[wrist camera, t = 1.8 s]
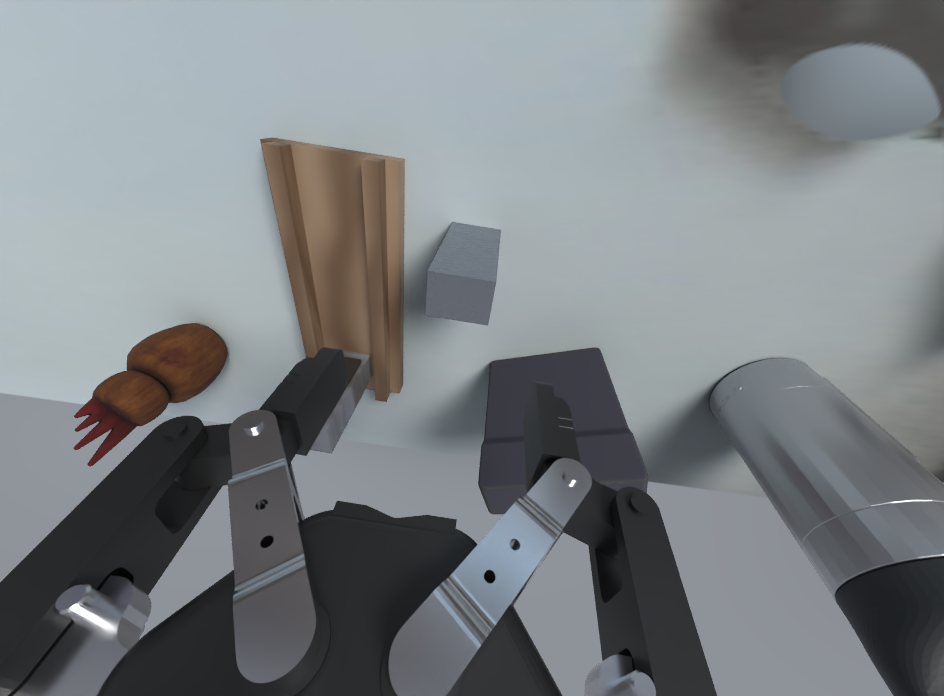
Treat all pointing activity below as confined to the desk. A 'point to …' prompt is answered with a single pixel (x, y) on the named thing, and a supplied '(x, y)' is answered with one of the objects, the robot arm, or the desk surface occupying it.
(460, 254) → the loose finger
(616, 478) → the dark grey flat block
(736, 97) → the desk surface
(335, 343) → the rail
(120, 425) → the wooden figurine
